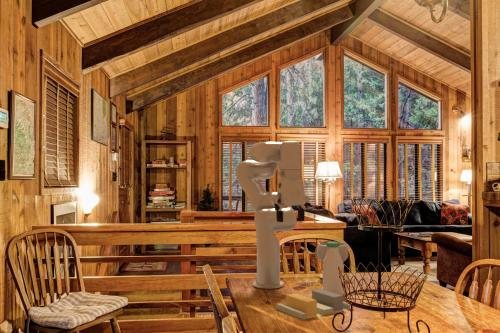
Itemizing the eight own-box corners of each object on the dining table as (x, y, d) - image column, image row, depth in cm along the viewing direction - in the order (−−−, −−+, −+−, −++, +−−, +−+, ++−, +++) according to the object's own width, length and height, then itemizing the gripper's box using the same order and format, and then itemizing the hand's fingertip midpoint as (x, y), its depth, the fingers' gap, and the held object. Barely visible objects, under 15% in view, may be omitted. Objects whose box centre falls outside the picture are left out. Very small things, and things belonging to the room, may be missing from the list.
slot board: (276, 311, 155) (276, 303, 155) (324, 302, 166) (324, 295, 166) (302, 322, 143) (302, 314, 143) (353, 312, 154) (352, 304, 154)
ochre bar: (285, 308, 156) (285, 294, 156) (295, 306, 158) (295, 293, 158) (306, 316, 146) (306, 301, 146) (316, 314, 148) (316, 300, 148)
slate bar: (311, 303, 161) (311, 290, 161) (320, 302, 163) (320, 289, 163) (333, 311, 152) (333, 297, 152) (343, 309, 154) (342, 295, 154)
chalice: (352, 276, 211) (352, 243, 211) (342, 282, 199) (342, 247, 199) (323, 273, 218) (323, 241, 218) (311, 279, 206) (311, 244, 206)
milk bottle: (343, 298, 172) (343, 243, 172) (322, 297, 173) (322, 243, 174) (343, 293, 179) (343, 241, 180) (323, 292, 181) (323, 240, 181)
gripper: (277, 174, 166) (277, 223, 165) (315, 174, 175) (315, 220, 174) (265, 174, 172) (265, 221, 171) (302, 174, 181) (302, 219, 181)
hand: (290, 221), depth 173 cm, fingers open, 9 cm apart
